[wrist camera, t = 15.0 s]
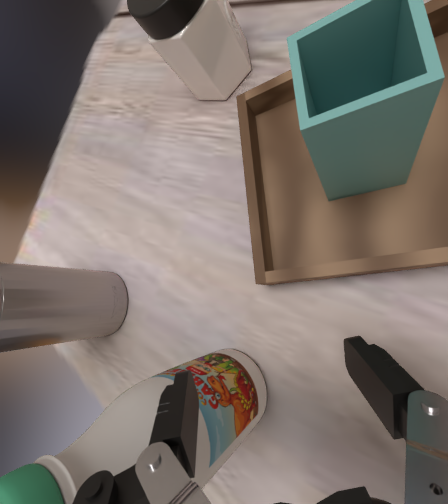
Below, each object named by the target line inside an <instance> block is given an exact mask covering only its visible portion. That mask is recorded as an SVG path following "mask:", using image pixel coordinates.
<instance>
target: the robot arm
mask: <svg viewBox="0 0 448 504" xmlns="http://www.w3.org/2000/svg"><path fill="white" fill-rule="evenodd" d="M127 302H128V300H127V291H126V287H125V285H124V283H123V281H122V279H121V278H120V277H119V276H118V275H117V274H115V273H113V272H104V271H93V270H84V269H72V268H60V267H49V266H37V265H25V264H14V263H1V262H0V353H1V352H7V351H13V350H20V349H26V348H32V347H38V346H45V345H51V344H57V343H64V342H70V341H76V340H83V339H89V338H96V337H102V336H107V335H110V334H112V333H114V332H115V331H116V330H117V329H118V328H119V327H120V326H121V324H122V322H123V320H124V318H125V315H126V310H127ZM344 352H345V363H346V367H347V370H348V373H349V375H350V376H351V378H352V379H353V381H354V382H355V384H356V385H357V387H358V388H359V390H360V391H361V392H362V394H363V395H364V397H365V398H366V400H367V401H368V403H369V404H370V406H371V407H372V408H373V410H374V411H375V413H376V414H377V416H378V417H379V419H380V420H381V422H382V423H383V424H384V426H385V427H386V429H387V430H388V432H389V433H390V435H391V436H392V437H393V439H394V440H395V439H400V438H404V439H405V441H406V471H405V504H448V401H447V400H446V399H445V398H443V397H441V396H440V395H438V394H436V393H433V392H430V391H425V390H424V389H423V388H422V387H421V386H420V385H419V384H418V383H417V382H416V381H415V380H414V379H413V378H412V377H411V376H410V375H409V374H408V373H407V372H406V371H405V370H404V369H403V368H402V367H401V366H399V364H398V363H397V362H396V361H395V360H394V359H393V358H392V357H391V356H390V355H389V354H388V353H387V352H386V351H385V350H384V349H382V348H380V347H379V346H377V345H375V344H371V345H368V344H367V343H366V342H365V340H364V339H363V338H362V337H361V336H355V337H351V338H346V339H344ZM198 417H199V397H198V392H197V389H196V386H195V382H194V379H193V375H192V372H191V370H187V371H182V372H177V373H176V374H175V378H174V383H173V384H172V385H167V386H166V388H165V389H164V391H163V392H162V394H161V396H160V400H159V406H158V409H157V414H156V417H155V421H154V425H153V429H152V433H151V437H150V441H149V445H148V447H147V448H145V449H144V450H143V452H142V453H141V454H140V456H139V457H138V459H137V462H136V464H134V465H133V466H131V467H130V468H128V469H126V470H124V471H123V472H121V473H119V474H117V475H115V476H113V475H112V473H111V472H110V471H107V470H102V471H99V472H96V473H94V474H93V475H91V476H90V477H89V478H88V479H87V480H86V481H85V482H84V483H83V484H82V485H81V487H80V488H79V490H78V491H77V493H76V496H75V498H74V501H73V503H72V504H211V503H210V501H209V500H208V498H207V497H206V496H205V494H204V493H203V491H202V490H201V488H200V487H199V485H198V484H197V483H196V482H194V483H193V482H192V480H191V479H190V478H195V465H196V449H197V433H198ZM275 504H289V503H281V502H280V503H275ZM317 504H391V503H389V502H386V501H384V500H380V499H377V498H372V497H370V496H369V494H368V492H367V490H366V488H365V486H363V487H358V488H353V489H348V490H343V491H337V492H336V493H334V494H332V495H330V496H329V497H327V498H325V499H324V500H322V501H320V502H318V503H317Z"/></svg>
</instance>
